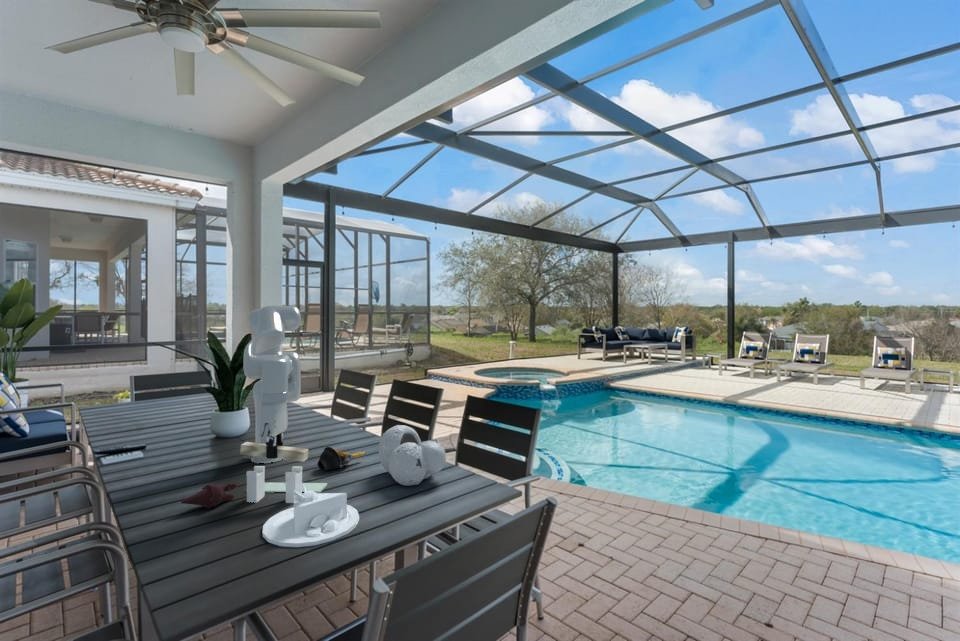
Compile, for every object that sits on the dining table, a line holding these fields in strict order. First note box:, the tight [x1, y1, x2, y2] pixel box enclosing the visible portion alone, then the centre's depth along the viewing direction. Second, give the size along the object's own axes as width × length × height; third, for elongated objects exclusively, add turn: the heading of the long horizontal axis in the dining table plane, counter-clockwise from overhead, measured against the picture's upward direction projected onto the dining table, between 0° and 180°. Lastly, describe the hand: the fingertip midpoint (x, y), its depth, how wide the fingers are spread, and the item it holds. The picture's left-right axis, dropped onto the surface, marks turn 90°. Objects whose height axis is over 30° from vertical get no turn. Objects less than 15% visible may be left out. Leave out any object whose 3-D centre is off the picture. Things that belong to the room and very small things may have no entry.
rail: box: [239, 441, 309, 463], centre depth 142 cm, size 20×3×3 cm, turn 89°
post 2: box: [284, 465, 303, 504], centre depth 142 cm, size 3×5×10 cm, turn 179°
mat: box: [245, 482, 328, 493], centre depth 151 cm, size 24×7×1 cm, turn 89°
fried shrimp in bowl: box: [317, 446, 366, 472], centre depth 173 cm, size 9×11×18 cm
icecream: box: [180, 481, 237, 510], centre depth 136 cm, size 7×7×15 cm
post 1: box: [245, 465, 266, 504], centre depth 142 cm, size 3×5×10 cm, turn 179°
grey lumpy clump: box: [378, 424, 447, 487], centre depth 161 cm, size 20×25×22 cm
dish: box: [262, 480, 360, 548], centre depth 126 cm, size 25×25×11 cm
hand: (274, 455), depth 142 cm, fingers closed on rail, 3 cm apart
